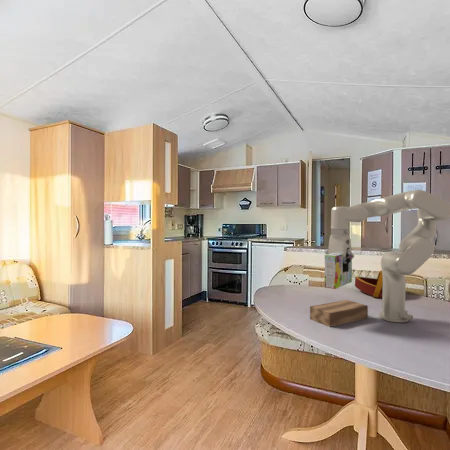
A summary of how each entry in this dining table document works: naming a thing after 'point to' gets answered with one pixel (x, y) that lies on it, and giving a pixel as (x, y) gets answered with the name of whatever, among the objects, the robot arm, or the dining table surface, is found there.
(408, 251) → the robot arm
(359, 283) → the decorative basket
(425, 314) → the dining table surface
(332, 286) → the snack box
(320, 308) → the walnut riser
